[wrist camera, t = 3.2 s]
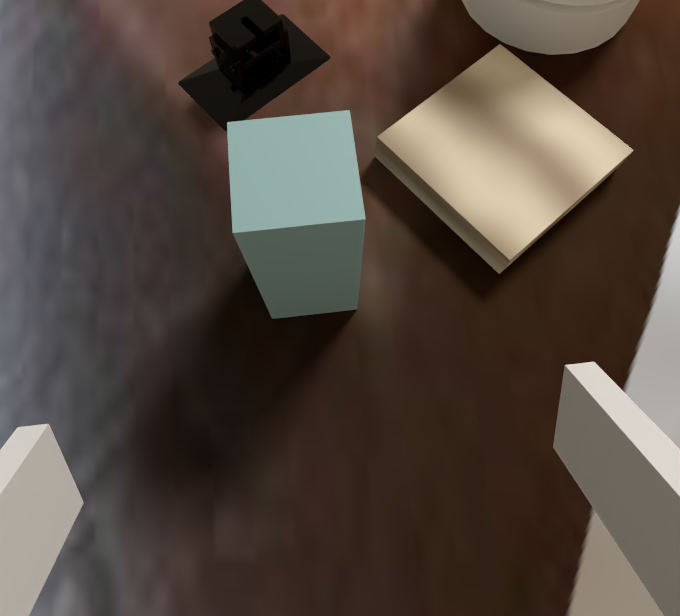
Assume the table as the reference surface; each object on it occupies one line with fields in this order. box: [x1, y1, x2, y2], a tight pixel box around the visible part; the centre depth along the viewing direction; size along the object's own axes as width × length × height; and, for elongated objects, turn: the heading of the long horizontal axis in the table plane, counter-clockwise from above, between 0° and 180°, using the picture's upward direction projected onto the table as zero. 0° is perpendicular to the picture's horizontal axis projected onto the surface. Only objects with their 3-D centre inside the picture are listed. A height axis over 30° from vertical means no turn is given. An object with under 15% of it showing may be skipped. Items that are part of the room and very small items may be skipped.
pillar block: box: [227, 110, 365, 319], centre depth 25 cm, size 5×5×11 cm
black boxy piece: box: [179, 0, 330, 131], centre depth 33 cm, size 12×7×5 cm, turn 132°
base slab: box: [375, 44, 633, 274], centre depth 32 cm, size 11×11×2 cm
